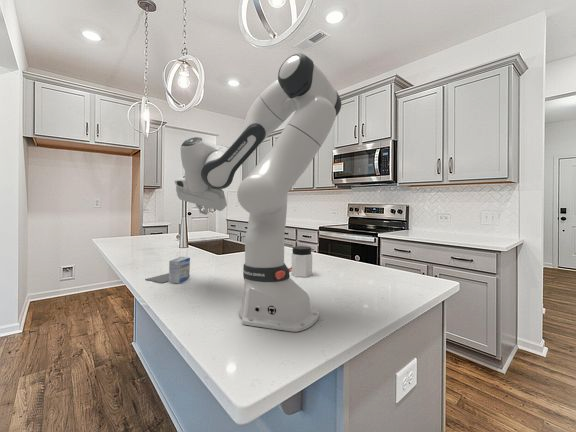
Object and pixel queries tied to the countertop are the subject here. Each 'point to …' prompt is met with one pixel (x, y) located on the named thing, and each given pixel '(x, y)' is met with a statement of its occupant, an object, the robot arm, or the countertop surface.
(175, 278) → the medicine box
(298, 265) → the jar
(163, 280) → the mat
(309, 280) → the countertop surface
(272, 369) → the countertop surface
